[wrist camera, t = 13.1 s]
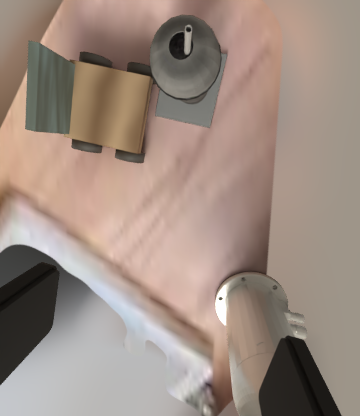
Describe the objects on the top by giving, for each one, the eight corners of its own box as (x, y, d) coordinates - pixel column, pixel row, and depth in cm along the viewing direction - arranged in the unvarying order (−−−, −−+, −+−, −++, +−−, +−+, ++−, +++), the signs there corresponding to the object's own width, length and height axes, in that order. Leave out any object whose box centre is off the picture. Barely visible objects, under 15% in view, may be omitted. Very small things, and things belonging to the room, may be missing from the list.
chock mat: (226, 55, 34) (227, 54, 34) (209, 127, 37) (209, 127, 36) (168, 44, 35) (167, 42, 34) (155, 116, 37) (155, 115, 37)
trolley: (161, 76, 36) (138, 41, 24) (146, 162, 39) (119, 169, 27) (88, 60, 36) (29, 18, 24) (79, 146, 40) (24, 146, 28)
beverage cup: (185, 49, 34) (156, -77, 15) (227, 79, 34) (252, -6, 15) (158, 96, 36) (102, 39, 17) (198, 124, 36) (188, 99, 17)
